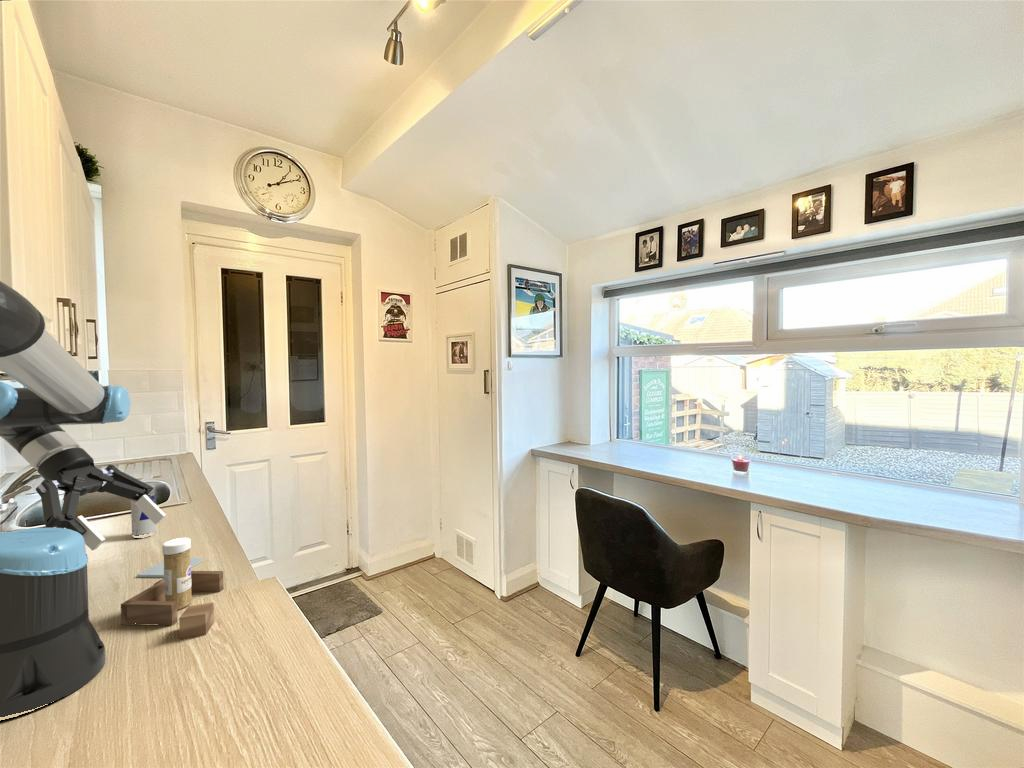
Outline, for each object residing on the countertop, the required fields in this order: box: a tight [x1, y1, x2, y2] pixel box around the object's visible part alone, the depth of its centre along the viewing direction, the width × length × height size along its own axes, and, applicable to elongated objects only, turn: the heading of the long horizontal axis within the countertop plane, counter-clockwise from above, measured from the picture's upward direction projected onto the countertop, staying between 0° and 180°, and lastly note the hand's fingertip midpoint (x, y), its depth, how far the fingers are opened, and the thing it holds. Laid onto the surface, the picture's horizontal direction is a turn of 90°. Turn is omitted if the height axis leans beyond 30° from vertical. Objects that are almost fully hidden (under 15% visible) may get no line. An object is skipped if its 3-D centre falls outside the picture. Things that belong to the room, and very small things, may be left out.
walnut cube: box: [178, 602, 215, 640], centre depth 78 cm, size 4×4×4 cm
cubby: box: [120, 570, 225, 626], centre depth 86 cm, size 13×10×4 cm
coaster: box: [136, 557, 205, 579], centre depth 103 cm, size 9×9×1 cm
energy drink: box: [130, 492, 157, 536], centre depth 124 cm, size 5×5×12 cm
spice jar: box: [161, 537, 193, 611], centre depth 86 cm, size 5×5×14 cm
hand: (132, 531), depth 87 cm, fingers open, 13 cm apart
